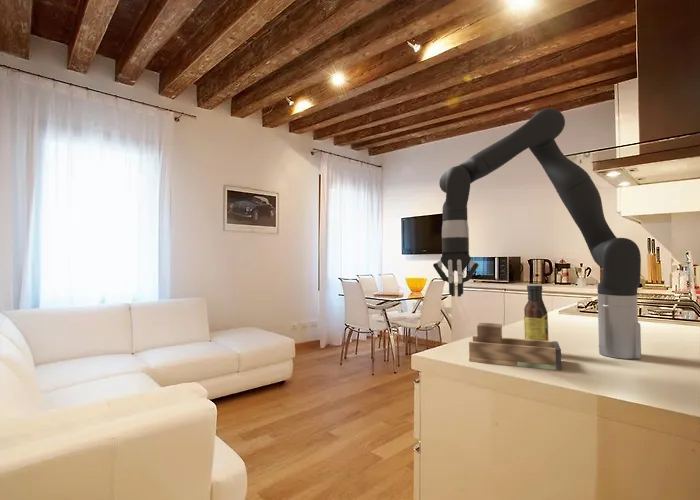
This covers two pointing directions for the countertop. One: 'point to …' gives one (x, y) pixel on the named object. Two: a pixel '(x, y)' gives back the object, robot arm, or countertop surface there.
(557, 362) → the wooden tray
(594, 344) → the countertop surface
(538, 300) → the sauce bottle
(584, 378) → the countertop surface
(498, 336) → the block
